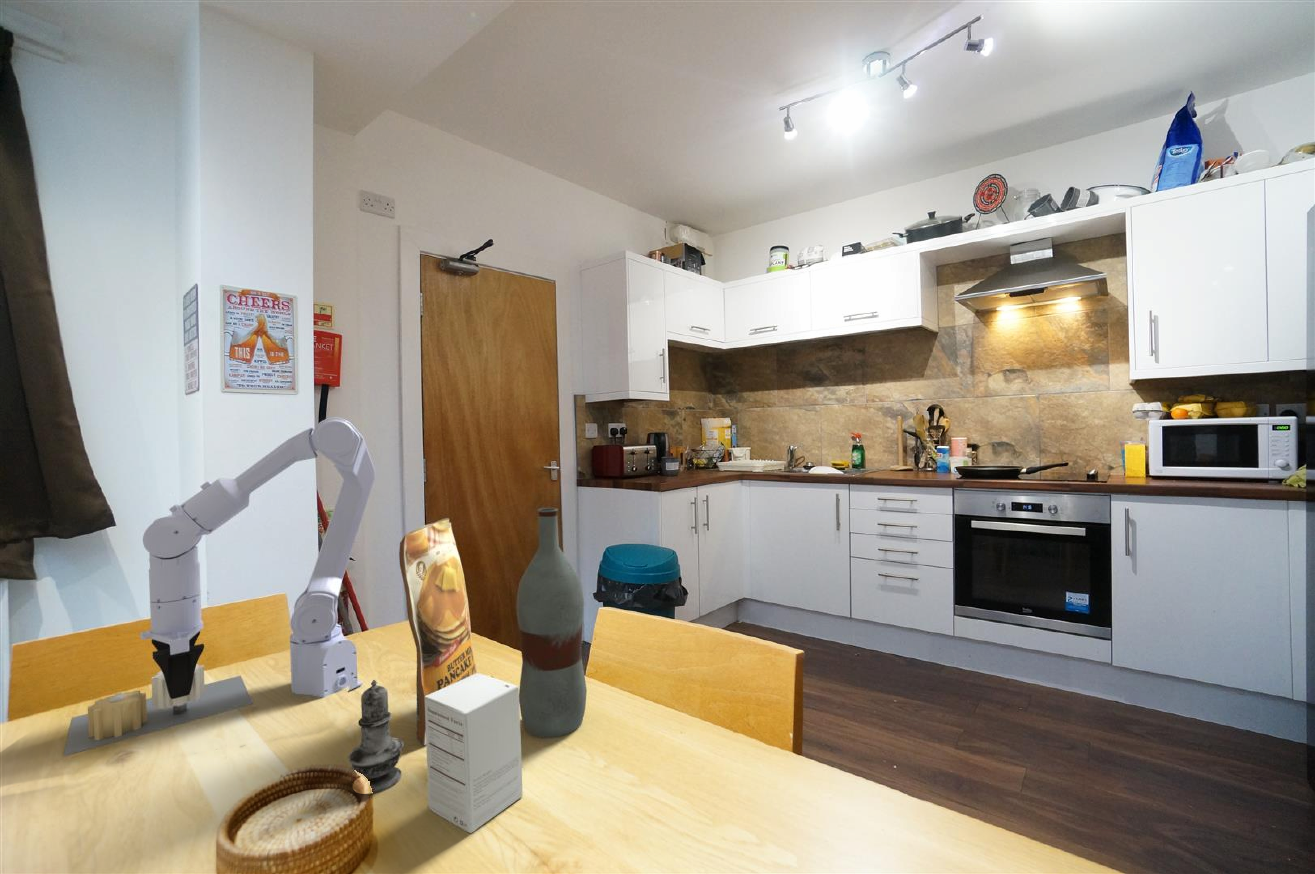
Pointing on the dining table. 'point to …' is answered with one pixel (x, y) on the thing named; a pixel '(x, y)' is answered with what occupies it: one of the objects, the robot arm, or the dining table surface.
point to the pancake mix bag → (436, 611)
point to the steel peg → (179, 709)
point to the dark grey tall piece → (377, 742)
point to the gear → (164, 700)
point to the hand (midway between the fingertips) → (179, 689)
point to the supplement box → (473, 750)
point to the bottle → (551, 638)
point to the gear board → (147, 714)
